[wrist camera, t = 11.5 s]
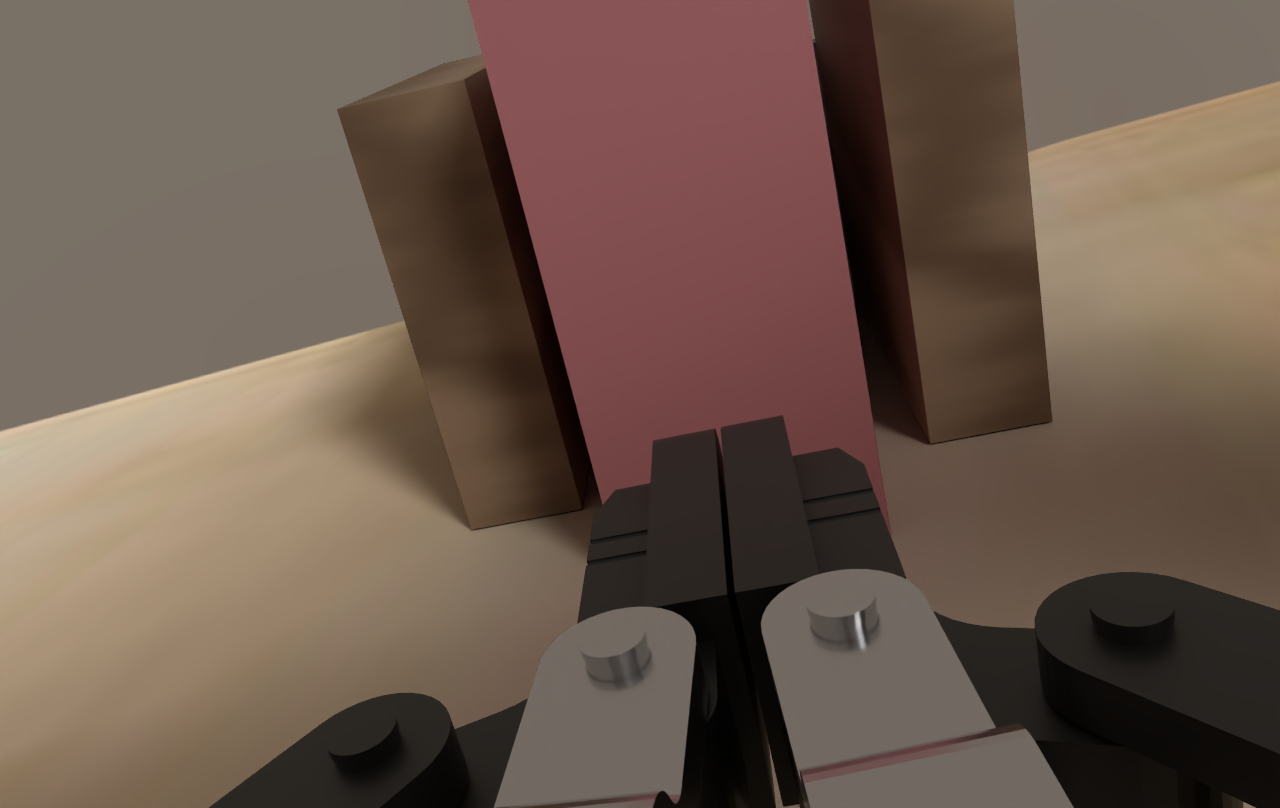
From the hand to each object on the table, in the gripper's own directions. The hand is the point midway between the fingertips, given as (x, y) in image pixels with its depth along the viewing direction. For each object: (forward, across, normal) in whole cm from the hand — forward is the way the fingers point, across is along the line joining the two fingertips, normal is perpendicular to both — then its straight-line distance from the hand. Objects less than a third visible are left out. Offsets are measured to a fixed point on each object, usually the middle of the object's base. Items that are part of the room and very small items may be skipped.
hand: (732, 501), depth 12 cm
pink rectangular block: (+18, 0, +7) cm, 19 cm away
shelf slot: (+20, 0, +7) cm, 21 cm away
